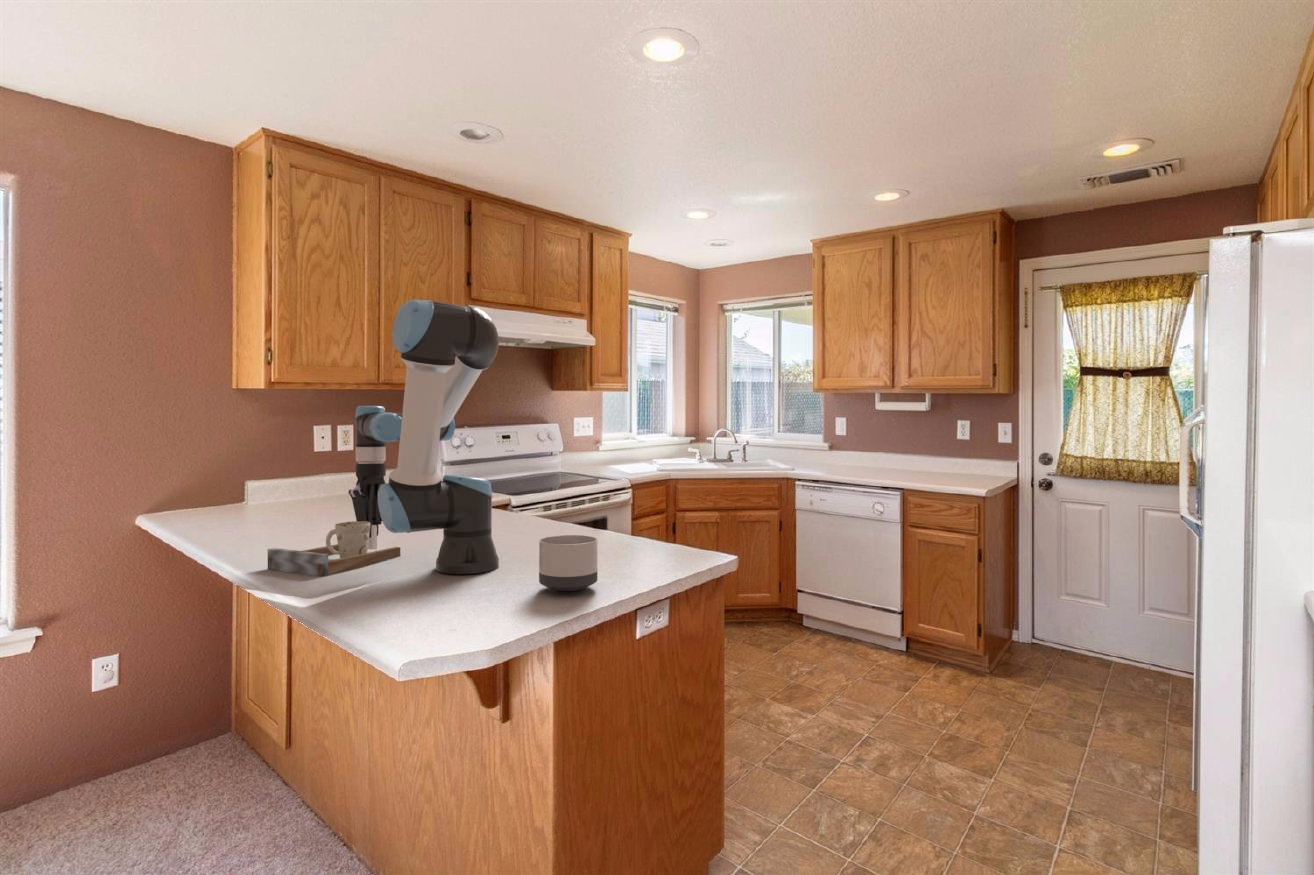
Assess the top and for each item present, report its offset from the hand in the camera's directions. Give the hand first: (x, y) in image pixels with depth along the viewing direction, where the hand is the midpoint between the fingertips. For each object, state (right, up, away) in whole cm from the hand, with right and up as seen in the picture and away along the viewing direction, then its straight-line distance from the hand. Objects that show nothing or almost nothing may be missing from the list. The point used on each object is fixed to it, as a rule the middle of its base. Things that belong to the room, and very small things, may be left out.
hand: (371, 548), depth 180 cm
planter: (+58, -3, -34) cm, 68 cm away
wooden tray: (-4, -2, -10) cm, 11 cm away
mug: (-3, -2, -7) cm, 8 cm away
